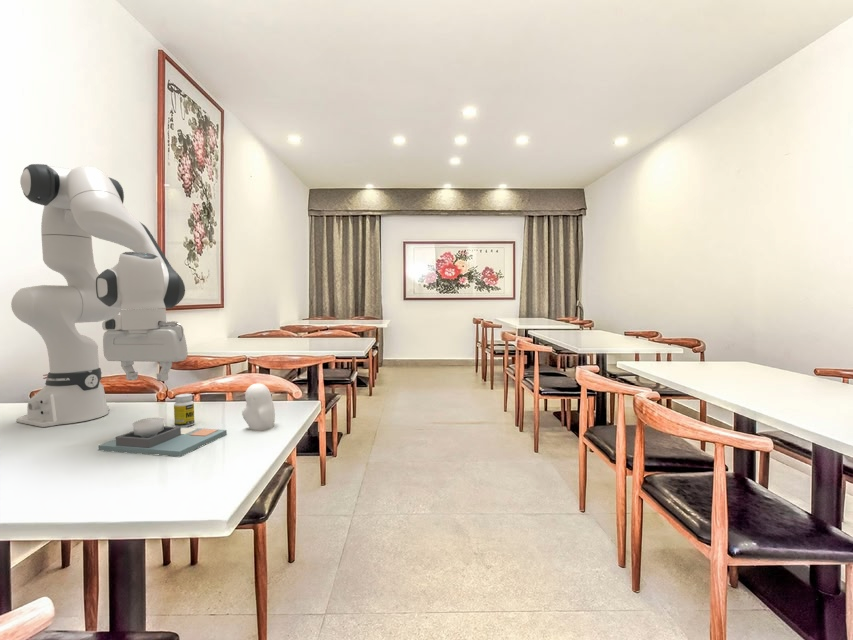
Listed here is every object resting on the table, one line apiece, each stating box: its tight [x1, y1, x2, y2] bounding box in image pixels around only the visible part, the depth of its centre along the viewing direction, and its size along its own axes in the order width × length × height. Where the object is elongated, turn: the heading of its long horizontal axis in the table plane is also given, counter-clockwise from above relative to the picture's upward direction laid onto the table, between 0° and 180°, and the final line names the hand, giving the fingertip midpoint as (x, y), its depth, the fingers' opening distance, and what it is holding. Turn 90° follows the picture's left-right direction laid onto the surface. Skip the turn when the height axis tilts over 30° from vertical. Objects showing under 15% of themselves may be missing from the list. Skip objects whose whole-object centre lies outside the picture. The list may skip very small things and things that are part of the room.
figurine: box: [241, 383, 276, 431], centre depth 111 cm, size 7×8×12 cm
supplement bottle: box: [173, 393, 196, 428], centre depth 113 cm, size 5×5×8 cm
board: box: [97, 425, 228, 457], centre depth 100 cm, size 22×15×3 cm
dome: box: [132, 417, 165, 438], centre depth 98 cm, size 6×6×4 cm
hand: (147, 380), depth 97 cm, fingers open, 7 cm apart
